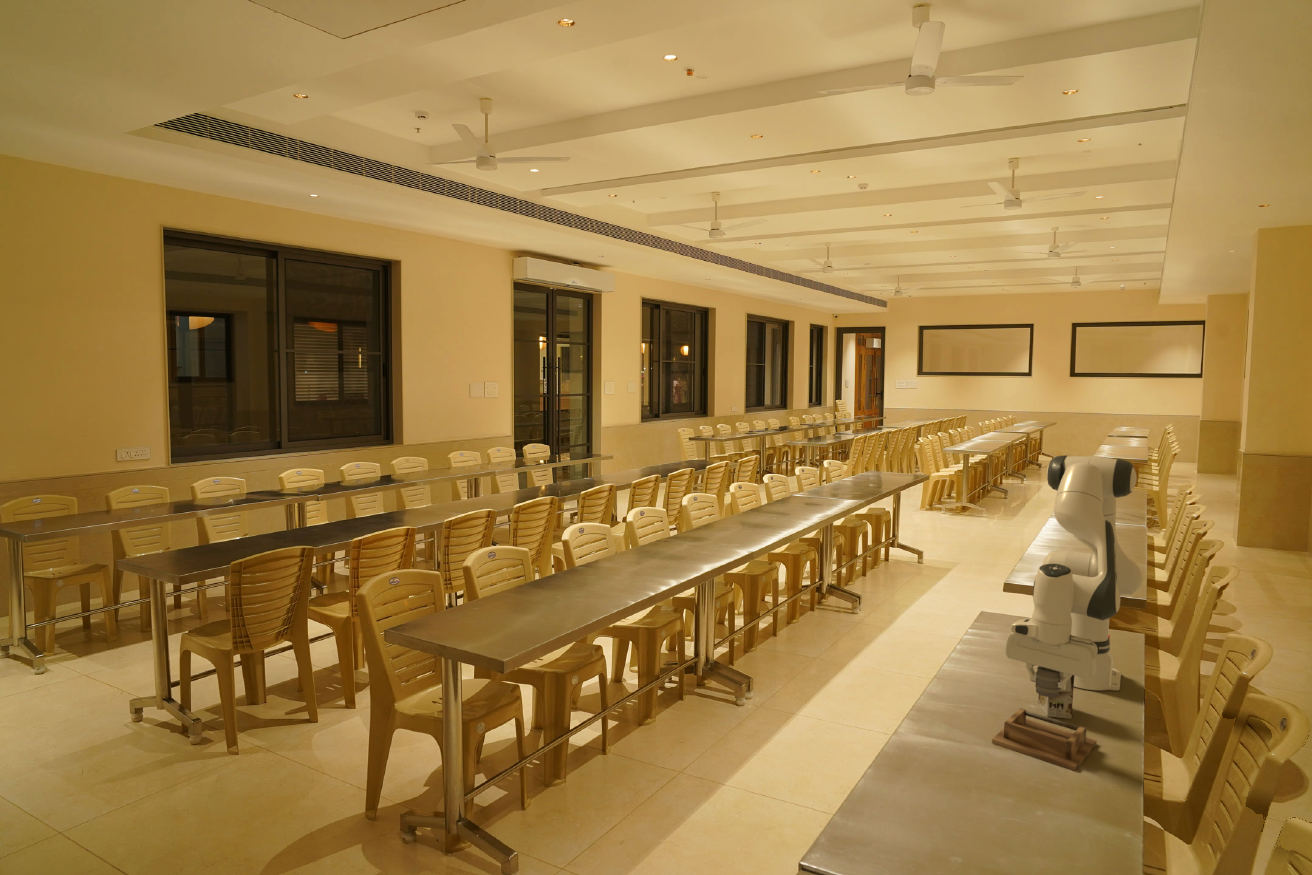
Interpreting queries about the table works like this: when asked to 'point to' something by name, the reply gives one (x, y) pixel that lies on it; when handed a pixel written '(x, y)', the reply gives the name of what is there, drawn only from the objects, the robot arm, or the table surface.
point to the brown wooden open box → (1045, 739)
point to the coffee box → (1059, 701)
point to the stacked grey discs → (1047, 682)
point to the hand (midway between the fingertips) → (1047, 684)
